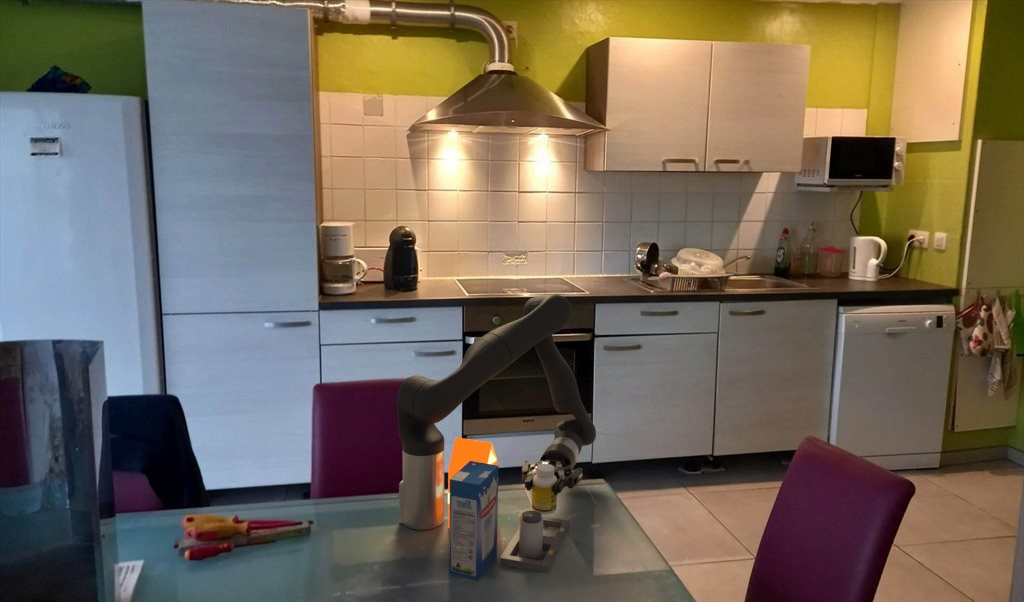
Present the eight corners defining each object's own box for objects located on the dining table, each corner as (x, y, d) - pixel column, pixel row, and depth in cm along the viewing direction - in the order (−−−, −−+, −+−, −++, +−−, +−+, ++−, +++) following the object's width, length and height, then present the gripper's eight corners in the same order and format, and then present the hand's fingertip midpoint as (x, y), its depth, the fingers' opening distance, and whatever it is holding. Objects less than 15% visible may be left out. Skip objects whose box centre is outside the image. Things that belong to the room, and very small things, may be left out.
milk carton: (478, 581, 145) (479, 484, 141) (448, 574, 147) (449, 479, 143) (496, 556, 154) (498, 465, 151) (469, 550, 156) (470, 460, 153)
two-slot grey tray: (500, 564, 151) (500, 556, 151) (526, 520, 170) (527, 512, 170) (548, 573, 148) (548, 564, 148) (569, 527, 167) (570, 519, 167)
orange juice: (484, 536, 163) (486, 449, 159) (447, 528, 165) (447, 443, 162) (496, 520, 170) (498, 436, 166) (460, 513, 173) (461, 431, 169)
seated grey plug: (516, 560, 153) (517, 518, 151) (522, 548, 158) (523, 508, 156) (538, 564, 152) (540, 522, 150) (544, 552, 156) (545, 511, 154)
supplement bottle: (554, 516, 160) (555, 473, 158) (529, 513, 161) (530, 471, 159) (558, 504, 165) (559, 463, 163) (534, 502, 166) (534, 461, 164)
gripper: (530, 439, 177) (509, 467, 161) (590, 446, 173) (575, 476, 157) (530, 468, 178) (509, 500, 162) (589, 477, 174) (574, 510, 158)
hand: (541, 488), depth 160 cm, fingers closed on supplement bottle, 5 cm apart
